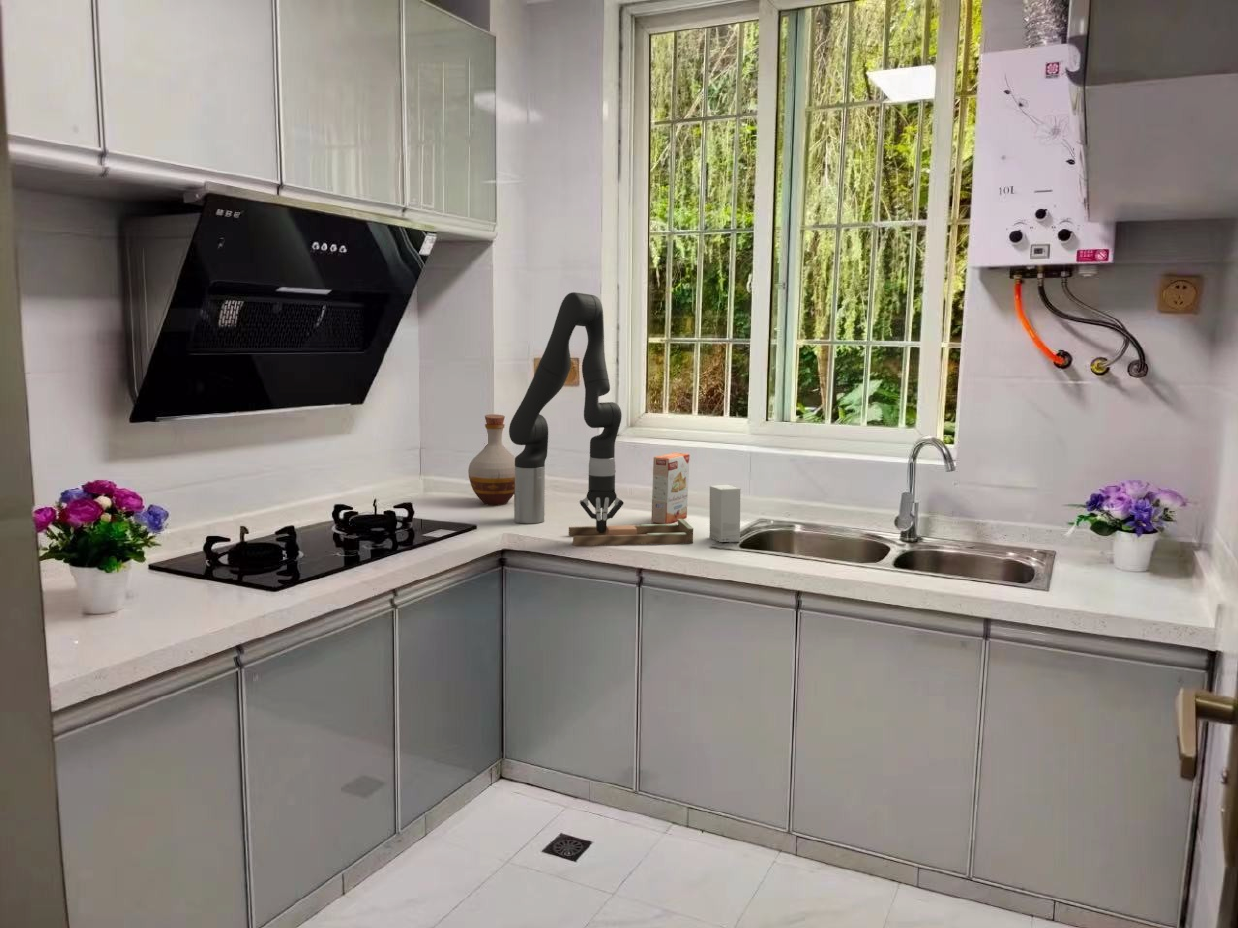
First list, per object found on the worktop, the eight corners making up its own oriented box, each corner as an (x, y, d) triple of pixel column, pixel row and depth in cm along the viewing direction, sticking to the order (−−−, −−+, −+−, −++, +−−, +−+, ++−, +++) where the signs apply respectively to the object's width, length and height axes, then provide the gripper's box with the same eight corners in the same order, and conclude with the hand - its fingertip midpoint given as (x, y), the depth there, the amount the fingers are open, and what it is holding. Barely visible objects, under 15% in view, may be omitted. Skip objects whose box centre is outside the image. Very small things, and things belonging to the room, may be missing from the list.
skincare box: (740, 542, 265) (742, 488, 263) (719, 543, 263) (720, 489, 261) (728, 535, 273) (729, 483, 271) (707, 537, 271) (709, 484, 269)
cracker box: (667, 525, 286) (669, 458, 282) (650, 523, 289) (652, 456, 285) (688, 517, 297) (690, 453, 294) (671, 515, 300) (673, 451, 297)
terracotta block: (608, 543, 262) (609, 529, 262) (606, 539, 267) (606, 525, 267) (636, 542, 264) (636, 528, 263) (633, 538, 269) (633, 525, 268)
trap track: (573, 545, 258) (573, 530, 257) (568, 535, 270) (568, 520, 270) (693, 543, 263) (693, 528, 263) (682, 532, 276) (682, 518, 275)
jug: (461, 499, 321) (460, 413, 317) (510, 495, 329) (510, 411, 324) (477, 509, 304) (476, 418, 299) (528, 506, 311) (528, 417, 307)
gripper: (623, 470, 267) (621, 529, 270) (577, 471, 265) (576, 530, 268) (627, 475, 260) (626, 535, 262) (580, 475, 258) (579, 536, 260)
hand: (601, 532), depth 265 cm, fingers closed
